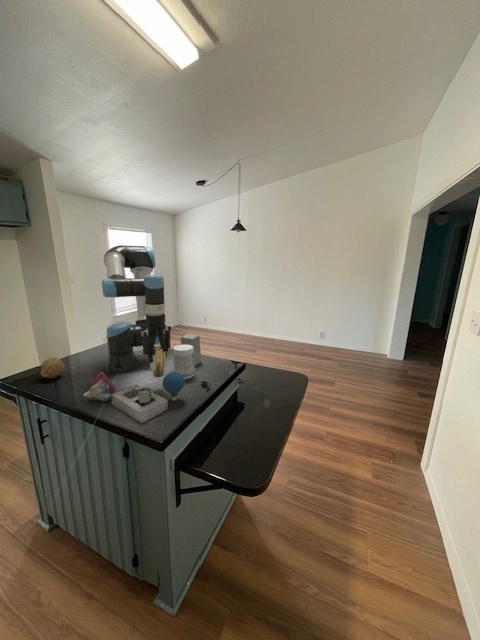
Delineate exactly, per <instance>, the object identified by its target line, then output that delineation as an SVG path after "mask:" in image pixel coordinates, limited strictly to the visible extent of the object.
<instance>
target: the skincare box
mask: <svg viewBox="0 0 480 640" xmlns="http://www.w3.org/2000/svg"><path fill="white" fill-rule="evenodd" d="M180 345H192V346H193V349H194V367H195V366H197V365H199V364H201V363H202V356H201V355H202V354H201V341H200V335H199V334H198V335H197V334H189V333H187V334H184V335H183V336H181V337H180Z"/></svg>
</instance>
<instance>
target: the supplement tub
mask: <svg viewBox="0 0 480 640" xmlns="http://www.w3.org/2000/svg"><path fill="white" fill-rule="evenodd" d="M173 367H174V368H173V372H178V373H180V374H181V375H182V376H183V377H184V380H188V379H192V378H193V377H194V376H195V366H194V349H193V346H192V345H181V344H178V345H175V346H174V347H173Z"/></svg>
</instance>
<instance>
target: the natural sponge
mask: <svg viewBox="0 0 480 640" xmlns="http://www.w3.org/2000/svg"><path fill="white" fill-rule="evenodd" d="M65 370H66V365H65V363H63V361H62V360H61V359H60V358H58V357H55V356H53V357H48V358H46V359H44V360H43V361H42V363H41V366H40V376H41V377H42V378H49V379H55V378H57V377H58V376H59V375H60V374H62V373H63V372H64V371H65Z"/></svg>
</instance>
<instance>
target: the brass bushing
mask: <svg viewBox="0 0 480 640" xmlns="http://www.w3.org/2000/svg"><path fill="white" fill-rule="evenodd" d="M153 354H154V355H155V361H156V370H153V369H152V375H153V377H154V378H161V377H164V375H165V366H164V363H163V348H162V347H161V346H154V353H153Z"/></svg>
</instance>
